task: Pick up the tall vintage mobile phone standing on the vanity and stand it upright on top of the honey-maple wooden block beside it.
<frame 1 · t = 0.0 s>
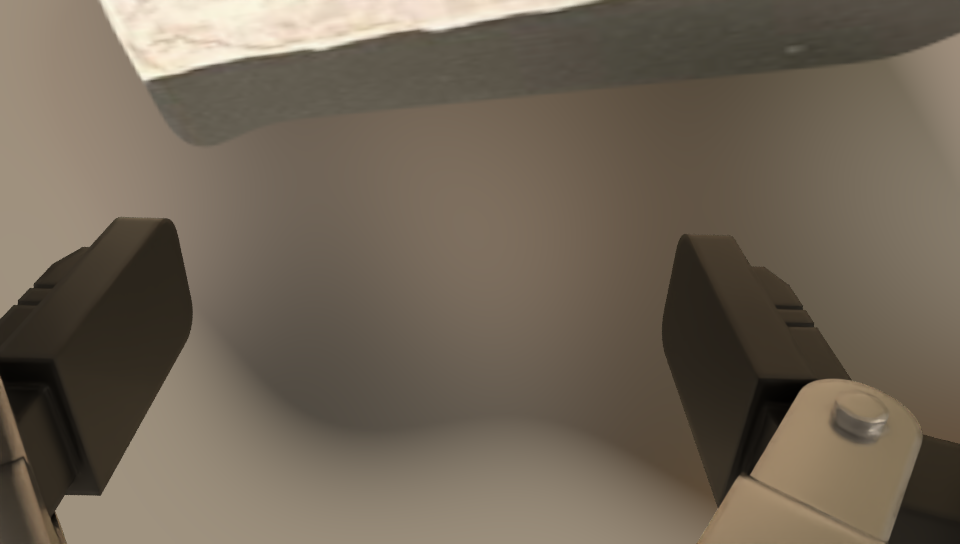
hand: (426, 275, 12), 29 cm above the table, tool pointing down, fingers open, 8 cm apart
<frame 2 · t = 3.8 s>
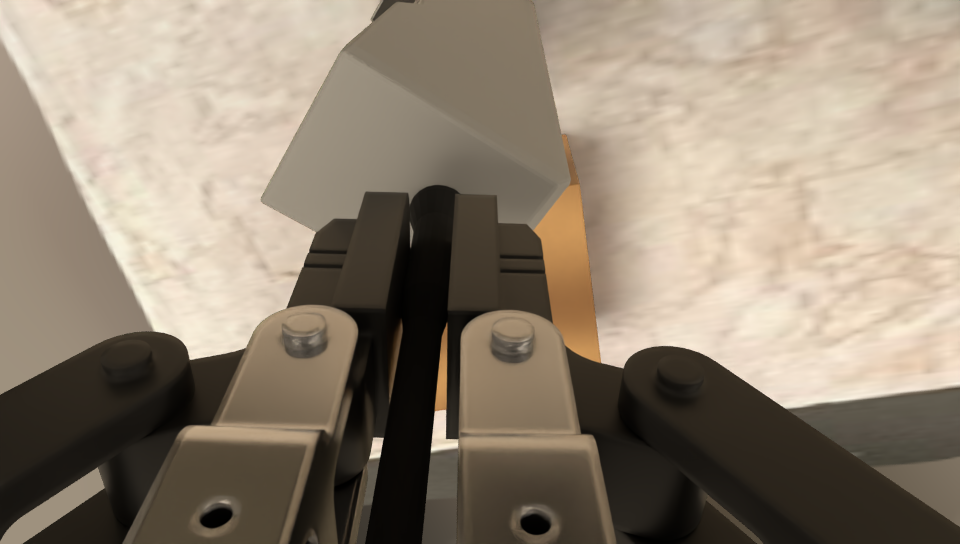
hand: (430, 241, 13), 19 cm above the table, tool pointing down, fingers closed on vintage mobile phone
vintage mobile phone: (453, 5, 29), on the table, touching gripper
maple block: (472, 251, 34), on the table
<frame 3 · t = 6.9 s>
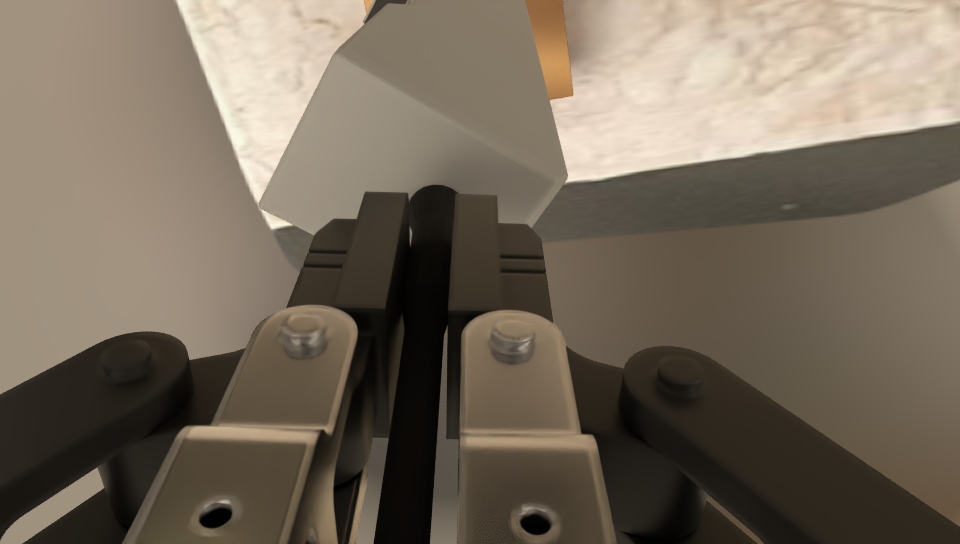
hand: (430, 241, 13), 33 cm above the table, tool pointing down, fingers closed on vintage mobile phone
vintage mobile phone: (445, 5, 29), point 14 cm above the table, touching gripper
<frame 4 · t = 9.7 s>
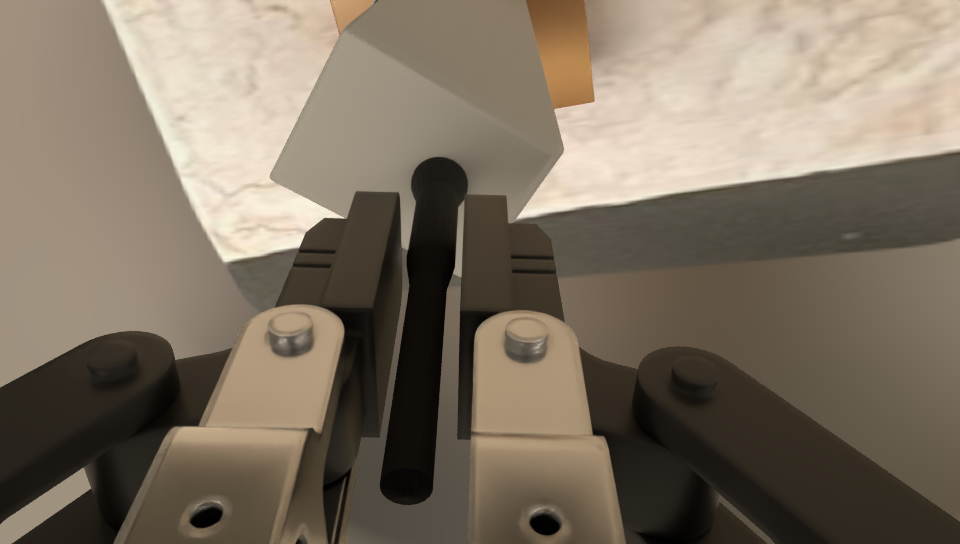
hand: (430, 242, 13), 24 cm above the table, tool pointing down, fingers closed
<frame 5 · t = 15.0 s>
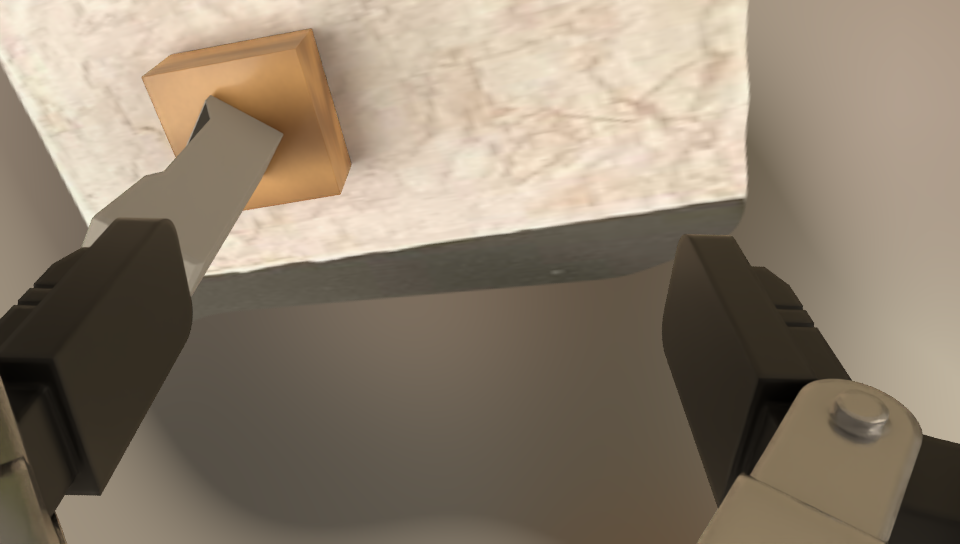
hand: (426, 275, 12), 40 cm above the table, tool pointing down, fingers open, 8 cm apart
vintage mobile phone: (238, 135, 48), point 5 cm above the table, touching maple block
maple block: (264, 112, 52), on the table, touching vintage mobile phone
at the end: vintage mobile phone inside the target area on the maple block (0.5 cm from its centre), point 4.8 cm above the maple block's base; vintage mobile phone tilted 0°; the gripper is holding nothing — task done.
